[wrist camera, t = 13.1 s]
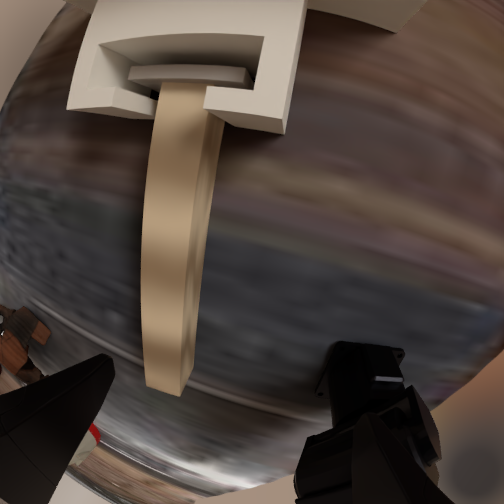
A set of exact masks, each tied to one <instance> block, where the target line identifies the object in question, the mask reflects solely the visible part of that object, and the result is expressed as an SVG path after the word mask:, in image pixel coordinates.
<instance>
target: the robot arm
mask: <svg viewBox="0 0 504 504" xmlns="http://www.w3.org/2000/svg"><path fill="white" fill-rule="evenodd" d="M340 347H344V348H340ZM398 354H400V355H398ZM404 356H405V352H404V350H403V349H401V348H392V347H389V346H381V345H373V344H360V343H353V342H346V341H340V342H338V343H337V344H336V346H335V348H334V350H333V353H332V355H331V357H330V359H329V362H328V364H327V366H326V368H325V371H324V373H323V375H322V377H321V379H320V381H319V383H318V386H317V388H316V390H315V396H316V397H318V398H327V399H330V405H331V415H332V426H333V428H332V429H329V430H327V431H325V432H322V433H320V434H317V435H312V436H309V437H307V440H306V443H305V446H304V449H303V452H302V454H301V457H300V460H299V463H298V466H297V468H296V471H295V474H294V480H293V481H294V488H295V492H296V494H297V497H298V499H296V500H295V503H296V504H455V503H454V502H452V501H451V500H450V499H449V498H448V497H447V496H446V495H445V494H444V493H443V492H442V491H441V490H440V489H439V488H438V487H437V486H438V481H439V472H438V469H437V466H436V464H435V463H436V462H438V461H440V460H441V459H442V455H441V446H440V440H439V432H438V430H437V427H436V425H435V422H434V420H433V418H432V415H431V413H430V411H429V409H428V408H427V406H426V404H425V403H424V401H423V400H422V398H421V397H420V395H419V394H418V392H417V391H416V389H415V388H414V386H413V385H411V386H409V387H407V388H406V390H405V387H404V385H403V382H404V378H403V375H402V373H401V370H400V368H399V365H400V363H401V362H402V360H403V358H404ZM114 377H115V368H114V363H113V359H112V357H111V356H108V355H106V354H103V353H102V354H99V355H96V356H94V357H92V358H90V359H87V360H85V361H83V362H81V363H78V364H76V365H74V366H71V367H69V368H67V369H65V370H62V371H60V372H58V373H55V374H53V375H50V376H48V377H46V378H43V379H41V380H39V381H36V382H34V383H31V384H29V385H27V386H24V387H21V388H19V389H16V390H14V391H11V392H8V393H5V394H2V395H0V504H48V503H49V501H50V499H51V497H52V495H53V493H54V491H55V489H56V486H57V485H58V483H59V481H60V480H61V478H62V476H63V474H64V472H65V470H66V468H67V467H68V465H69V463H70V461H71V459H72V457H73V456H74V454H75V452H76V450H77V448H78V447H79V445H80V443H81V441H82V440H83V438H84V436H85V434H86V433H87V431H88V429H89V428H90V426H91V424H92V422H93V421H94V419H95V417H96V416H97V414H98V412H99V410H100V409H101V406H102V404H103V402H104V400H105V398H106V395H107V393H108V391H109V389H110V386H111V384H112V382H113V380H114ZM320 392H322V393H320Z"/></svg>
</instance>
